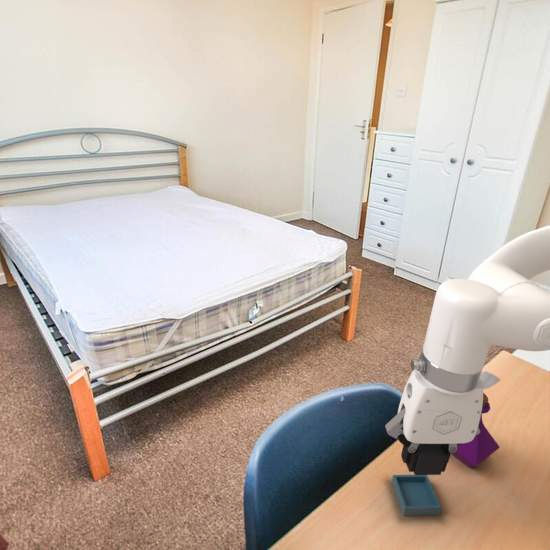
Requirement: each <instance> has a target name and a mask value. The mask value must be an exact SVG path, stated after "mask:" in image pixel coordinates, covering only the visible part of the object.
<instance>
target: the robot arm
mask: <svg viewBox="0 0 550 550" xmlns="http://www.w3.org/2000/svg"><path fill="white" fill-rule="evenodd" d="M548 271H550V224H549V225H545V226H543V227H539V228H537V229H534V230H531V231H528V232H525V233H523V234H521V235H518V236H517V237H515V238H513V239H511V240H510V241H509V242H507V243H505V244H504V245H503V246H502V247H500V248H499V249H498V250H496V251H495V252H494V253H492V254H491V255H490V256H488V257H487V258H486V259H485V260H484V261H482V262H481V263H479V265H477V267H476V268H475V269H473V271H472V272H471V273H470V275H469V276H468V277H467V278H451V279H447V280H445V281H443V282H442V283H441V284H439V286H438V288H437V289H436V292H435V295H434V300H433V303H432V308H431V312H430V317H429V321H428V325H427V330H426V333H425V337H424V341H423V342H424V343H423V347H422V351H421V352H420V355H419V358H417V359H411V361H410V370H412V372H411V373H410V375H409V378H408V379H407V382H406V384H405V387H404V389H403V392H402V395H401V398H400V402H399V404H398V409H397V413H396V415H395V416H393V417H392V418H391V419H390V420H389V421H388V422H387V423H386V424H385V425H384V428H385V431H386V434H387V435H388V436H390V437H392V438H393V439H396V440H398V442H399V443H401V444H402V449H401V453H400V455H401V460H402V463H403V464H405V465H406V467H407V470H408V472H409V473H414V470H415V466H416V462H417V459H418V451H417V448H418V446H419V444H440V445H441V447H442V449H443V451H444V453H445V455H446V459H445V462H444V465H443V468H442V472H441V473H445V471H446V469H447V466H448V463H449V460H450V458H451V455H452V454H451V453H453V452H455V451H456V450H457V446H458V445H460V444H462V443H468V442H470V441H472V440H473V439H474V437H475V436H476V435H478V434H479V433H480V429H479V428H478V425H479V421H480V417H481V411H482V405H483V393H484V389H483V382H482V381H481V380H480V376H481V374H482V373H483V369H484V366H485V364H486V363H485V362H486V360H487V356H488V353H489V350H490V348H491V347H492V346H497V347H503V348H508V349H513V350H519V351H526V352H545V351H550V292H549V291H548V290H546V289H545V288H543V287H541V286H540V285H538V284H537V283H535V282H534V281H532V279H533V278H534V277H537V276H538V275H540V274H543V273H545V272H548Z"/></svg>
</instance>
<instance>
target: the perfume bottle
mask: <svg viewBox="0 0 550 550" xmlns="http://www.w3.org/2000/svg"><path fill="white" fill-rule="evenodd" d="M480 380H481V381H482V382H483V390H486V389H489V388H491V387H493V386H495V385H496V384H497V383H499V382H500V381H501V379H500V378H499V377H498V376H497V375H495V374H493V373H490V372H488V371H486V370H485V371H484V370H483V371H482V372H481V376H480ZM489 411H491V405H490V402H489V398H488V396H487V394H486V393H485V392H483V405H482V411H481V417H480V421H479V425H478V428H479V429H480V433H479V434H478V435H476V436H475V437H474V439H473V440H472V441H470V442H468V443H462V444H460V445H458V446H457V450H456V451H455V452H453V453H451V455H452V456H453V457H455V458H456V459H457V460H458V461H459V462H461V463H462V464H463V465H464V466H465V467H467V468H473V467H477V466H479V464H481V463H482V462H484V461H485V460H486V459H487V458H489V457H490V456H491V455H492V454H494V453H495V452H497V451H498V450H499V449H500V445H499V444H498V442H497V441H496V440H495V438H494V437H493V435H492V434H491V433H490V431H488V429H487V427H486V426H485V424H484V422H483V414H488V413H489Z"/></svg>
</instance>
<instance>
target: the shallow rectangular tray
mask: <svg viewBox="0 0 550 550" xmlns="http://www.w3.org/2000/svg"><path fill="white" fill-rule="evenodd" d="M428 476H429V475H415V474H393V475H392V478H391V485H392V488H393V491H394V494H395V496H396V499H397V502H398V505H399V508H400V511H401V514H402V516H404V517H405V516H406V517H407V516H409V517H410V516H440V513H441V511H442V505H441V503H440V501H439V498H438V495H437V494H436V491H435V490H434V487H433V486H432V483H431V481H430V478H429V477H428Z"/></svg>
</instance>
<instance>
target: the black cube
mask: <svg viewBox="0 0 550 550" xmlns="http://www.w3.org/2000/svg"><path fill="white" fill-rule="evenodd" d="M417 451H418V459H417V462H416V466H415V470H414V472H413V475H427V476H441V475H442V473H443V472H442V468H443V465H444V462H445V459H446V455H445V453H444V451H443V449H442V447H441V445H440V444H419V446H418V448H417Z"/></svg>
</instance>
